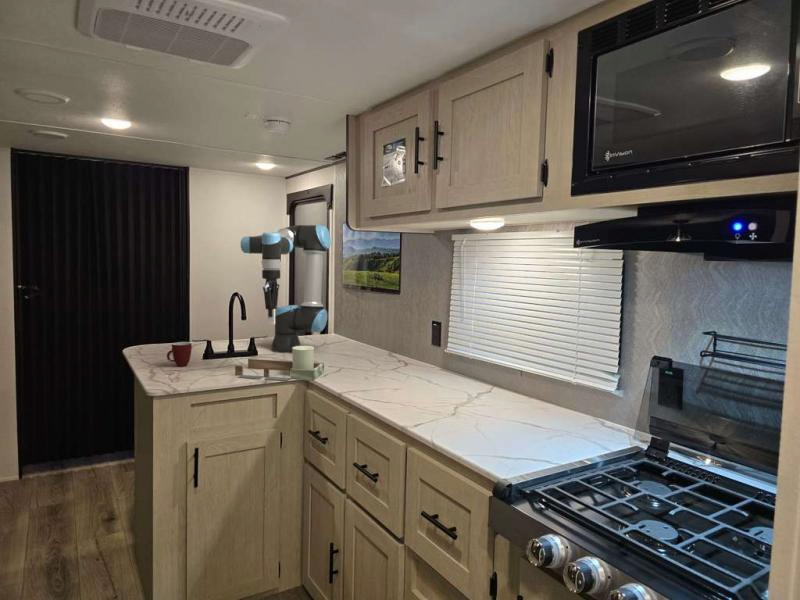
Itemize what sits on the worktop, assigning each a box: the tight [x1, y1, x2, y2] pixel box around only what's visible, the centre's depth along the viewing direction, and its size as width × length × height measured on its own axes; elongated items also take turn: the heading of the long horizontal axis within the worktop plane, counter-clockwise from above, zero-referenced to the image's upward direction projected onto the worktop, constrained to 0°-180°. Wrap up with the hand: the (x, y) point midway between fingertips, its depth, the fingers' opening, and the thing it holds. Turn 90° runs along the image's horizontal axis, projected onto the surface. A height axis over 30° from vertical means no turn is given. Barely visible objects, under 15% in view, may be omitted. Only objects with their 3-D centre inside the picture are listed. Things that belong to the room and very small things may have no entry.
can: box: [292, 345, 315, 370], centre depth 227 cm, size 9×9×12 cm
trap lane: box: [234, 358, 325, 381], centre depth 228 cm, size 14×34×4 cm, turn 82°
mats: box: [237, 374, 291, 382], centre depth 219 cm, size 4×21×1 cm, turn 82°
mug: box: [166, 341, 193, 368], centre depth 236 cm, size 10×8×10 cm
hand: (271, 324), depth 230 cm, fingers closed
